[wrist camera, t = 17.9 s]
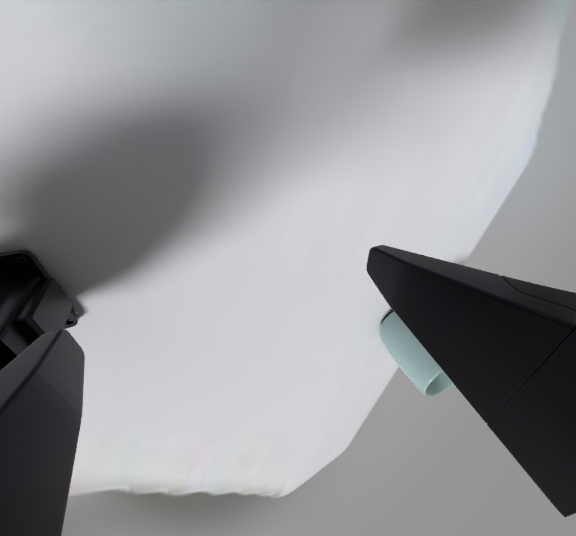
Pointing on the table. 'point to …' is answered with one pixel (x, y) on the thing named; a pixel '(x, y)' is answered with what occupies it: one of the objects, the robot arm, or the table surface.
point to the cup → (413, 357)
